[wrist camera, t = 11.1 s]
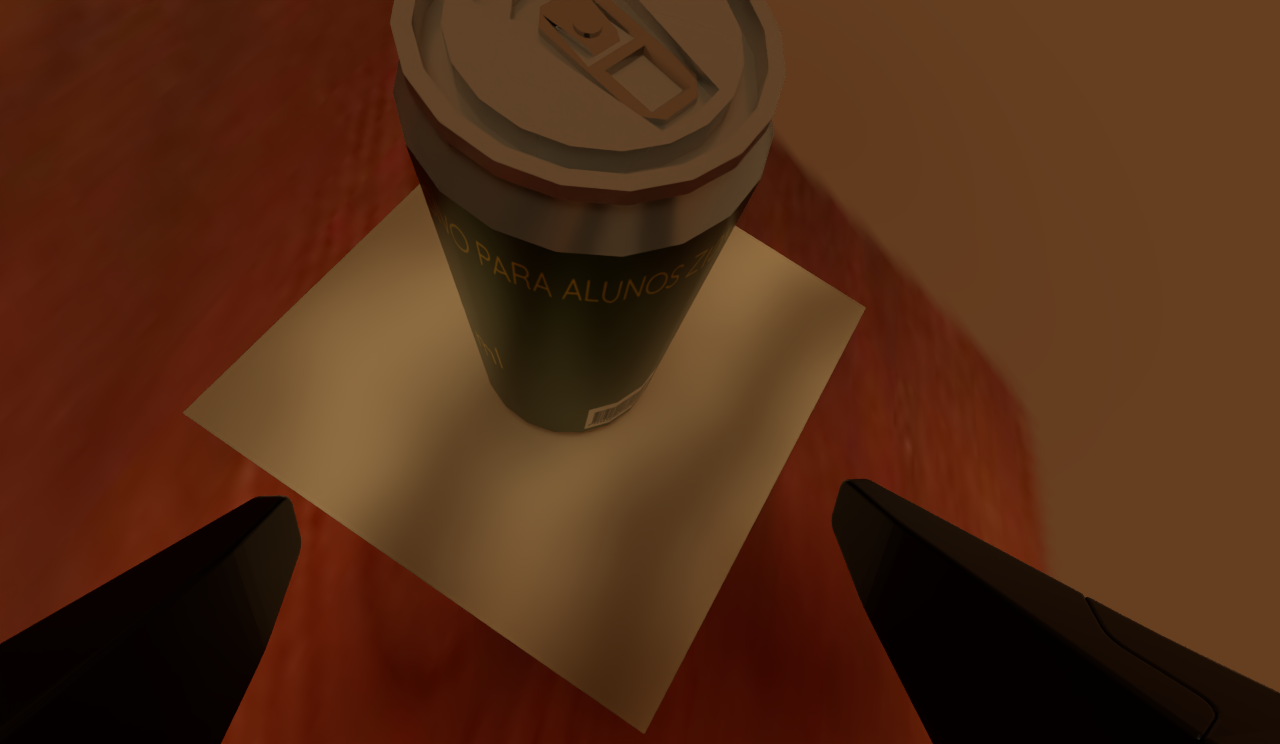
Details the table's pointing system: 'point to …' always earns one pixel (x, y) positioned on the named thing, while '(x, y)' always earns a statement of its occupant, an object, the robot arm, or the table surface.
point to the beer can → (583, 176)
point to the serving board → (538, 450)
